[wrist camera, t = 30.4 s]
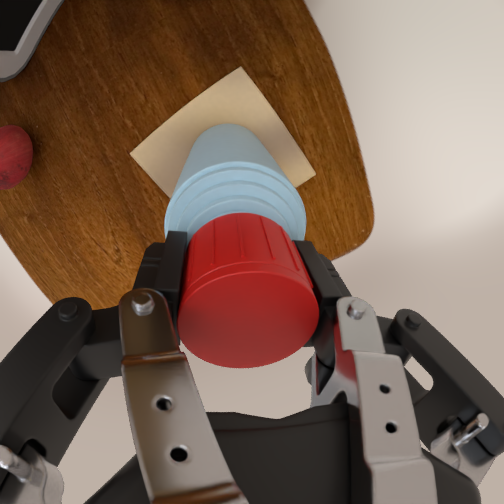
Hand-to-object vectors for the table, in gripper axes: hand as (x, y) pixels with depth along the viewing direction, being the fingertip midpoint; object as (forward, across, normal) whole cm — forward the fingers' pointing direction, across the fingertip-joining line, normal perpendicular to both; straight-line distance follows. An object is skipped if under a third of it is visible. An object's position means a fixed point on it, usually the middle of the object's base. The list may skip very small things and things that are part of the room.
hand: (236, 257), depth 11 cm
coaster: (+16, 0, 0) cm, 16 cm away
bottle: (+15, 0, 0) cm, 15 cm away
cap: (-1, 0, 0) cm, 1 cm away
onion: (+16, +20, -1) cm, 26 cm away
